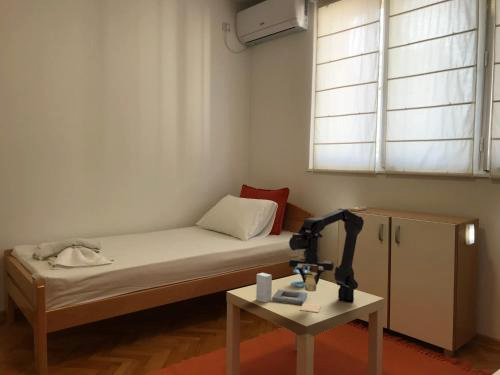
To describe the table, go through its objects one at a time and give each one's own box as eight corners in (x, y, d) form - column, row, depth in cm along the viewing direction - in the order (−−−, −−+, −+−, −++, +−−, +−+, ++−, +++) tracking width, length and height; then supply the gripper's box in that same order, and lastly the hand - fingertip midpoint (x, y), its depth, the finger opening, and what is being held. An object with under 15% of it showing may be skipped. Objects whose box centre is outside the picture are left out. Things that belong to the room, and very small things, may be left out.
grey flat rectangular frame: (307, 296, 191) (307, 292, 191) (302, 305, 180) (302, 301, 180) (278, 293, 196) (278, 289, 195) (272, 301, 184) (272, 297, 184)
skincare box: (271, 300, 185) (272, 275, 184) (265, 303, 182) (266, 276, 181) (262, 297, 189) (262, 272, 188) (255, 299, 186) (256, 273, 185)
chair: (312, 285, 209) (313, 262, 209) (300, 287, 205) (300, 264, 204) (302, 281, 216) (303, 259, 215) (290, 283, 211) (291, 260, 211)
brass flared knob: (317, 288, 177) (318, 272, 177) (315, 292, 172) (316, 276, 172) (305, 286, 179) (305, 271, 179) (302, 290, 174) (303, 274, 173)
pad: (321, 306, 178) (321, 305, 178) (318, 312, 171) (318, 311, 171) (303, 304, 181) (303, 303, 181) (299, 310, 173) (299, 309, 173)
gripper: (335, 246, 179) (334, 280, 180) (294, 242, 185) (293, 276, 186) (332, 251, 169) (331, 288, 170) (288, 247, 174) (288, 283, 175)
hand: (310, 283), depth 175 cm, fingers closed on brass flared knob, 5 cm apart
